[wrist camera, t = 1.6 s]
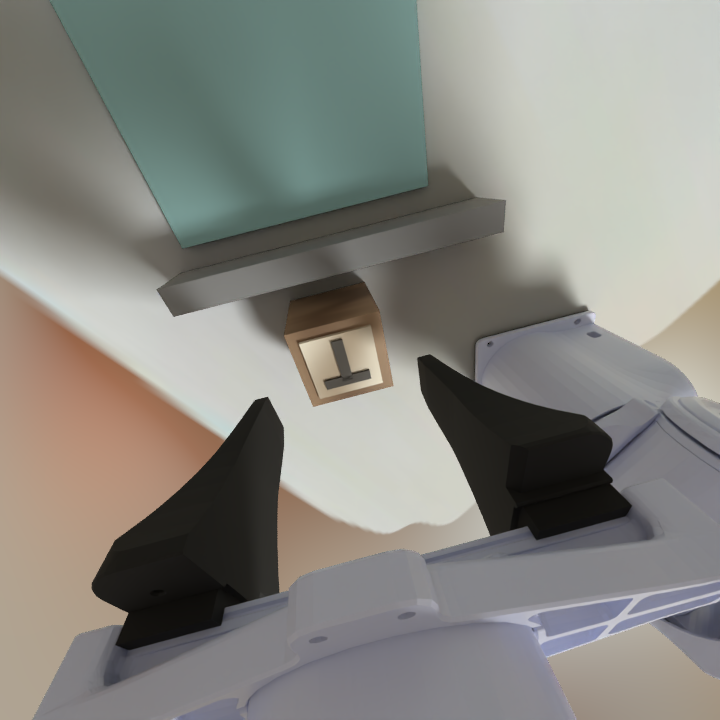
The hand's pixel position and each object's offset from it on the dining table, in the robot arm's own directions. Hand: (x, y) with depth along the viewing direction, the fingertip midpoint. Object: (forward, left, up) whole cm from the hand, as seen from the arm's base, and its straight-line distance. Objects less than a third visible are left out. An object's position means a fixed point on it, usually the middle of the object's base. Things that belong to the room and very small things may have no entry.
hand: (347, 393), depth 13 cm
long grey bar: (-1, -5, -8) cm, 9 cm away
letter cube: (0, 0, -8) cm, 8 cm away
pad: (0, -13, -8) cm, 15 cm away
